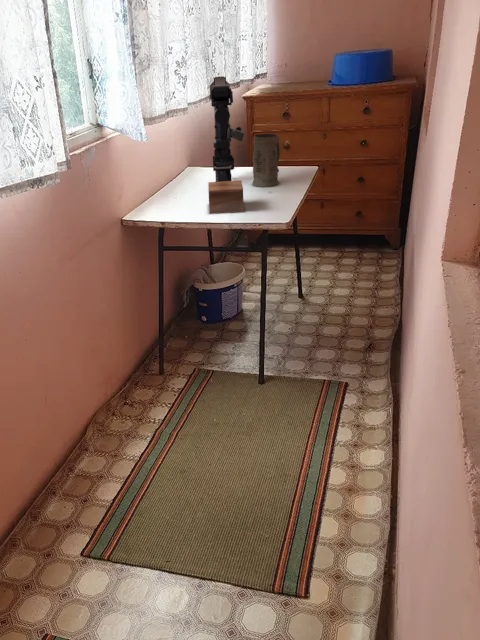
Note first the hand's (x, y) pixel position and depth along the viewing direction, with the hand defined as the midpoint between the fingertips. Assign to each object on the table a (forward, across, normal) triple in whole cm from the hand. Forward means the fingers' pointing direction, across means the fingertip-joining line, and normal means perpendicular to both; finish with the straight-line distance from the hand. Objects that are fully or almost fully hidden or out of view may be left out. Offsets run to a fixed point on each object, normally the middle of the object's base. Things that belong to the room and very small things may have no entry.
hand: (223, 163), depth 241 cm
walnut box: (+13, -20, -1) cm, 24 cm away
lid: (+5, -21, -1) cm, 22 cm away
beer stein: (+12, +17, -18) cm, 27 cm away
